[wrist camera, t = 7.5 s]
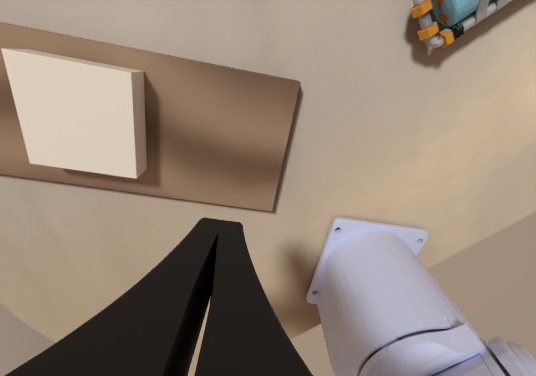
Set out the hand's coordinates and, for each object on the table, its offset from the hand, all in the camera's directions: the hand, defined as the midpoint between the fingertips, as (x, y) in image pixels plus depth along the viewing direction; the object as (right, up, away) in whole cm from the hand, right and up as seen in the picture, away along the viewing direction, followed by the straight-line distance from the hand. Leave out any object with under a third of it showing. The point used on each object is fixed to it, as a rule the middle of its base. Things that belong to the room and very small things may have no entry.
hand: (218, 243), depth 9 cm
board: (-7, +6, +8) cm, 12 cm away
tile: (-6, +5, +6) cm, 10 cm away
